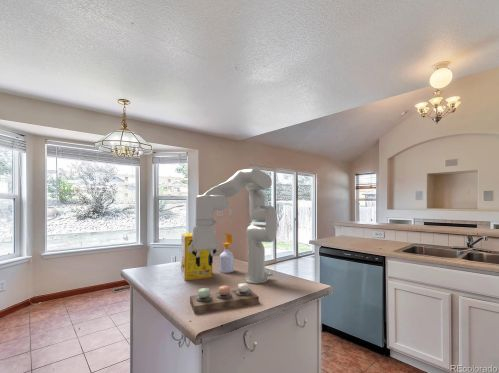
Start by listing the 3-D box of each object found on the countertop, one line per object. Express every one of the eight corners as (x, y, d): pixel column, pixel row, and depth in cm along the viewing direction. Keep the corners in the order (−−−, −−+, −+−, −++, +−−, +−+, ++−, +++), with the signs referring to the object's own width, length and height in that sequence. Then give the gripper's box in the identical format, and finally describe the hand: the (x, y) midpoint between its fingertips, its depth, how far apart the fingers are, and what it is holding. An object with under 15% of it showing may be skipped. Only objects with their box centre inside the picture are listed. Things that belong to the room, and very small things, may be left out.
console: (248, 294, 125) (248, 286, 125) (258, 303, 113) (258, 295, 114) (190, 302, 114) (190, 294, 115) (194, 313, 103) (194, 304, 103)
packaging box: (180, 273, 163) (181, 233, 164) (206, 270, 169) (206, 232, 170) (184, 280, 148) (184, 236, 149) (212, 277, 153) (212, 235, 155)
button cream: (246, 287, 121) (246, 282, 121) (250, 291, 116) (250, 285, 116) (236, 289, 119) (236, 283, 119) (240, 292, 114) (240, 287, 115)
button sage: (208, 293, 114) (208, 287, 114) (210, 296, 110) (210, 290, 110) (197, 294, 112) (197, 288, 112) (199, 298, 108) (199, 292, 108)
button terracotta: (227, 290, 117) (227, 285, 117) (231, 293, 113) (231, 288, 113) (217, 291, 116) (217, 286, 116) (220, 295, 111) (220, 289, 111)
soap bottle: (216, 271, 166) (216, 233, 167) (225, 268, 173) (225, 231, 175) (227, 273, 161) (227, 234, 162) (236, 270, 168) (236, 232, 170)
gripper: (220, 222, 119) (220, 262, 118) (183, 223, 113) (183, 265, 112) (225, 223, 112) (225, 265, 111) (185, 224, 106) (185, 269, 105)
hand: (204, 265), depth 112 cm, fingers open, 4 cm apart
